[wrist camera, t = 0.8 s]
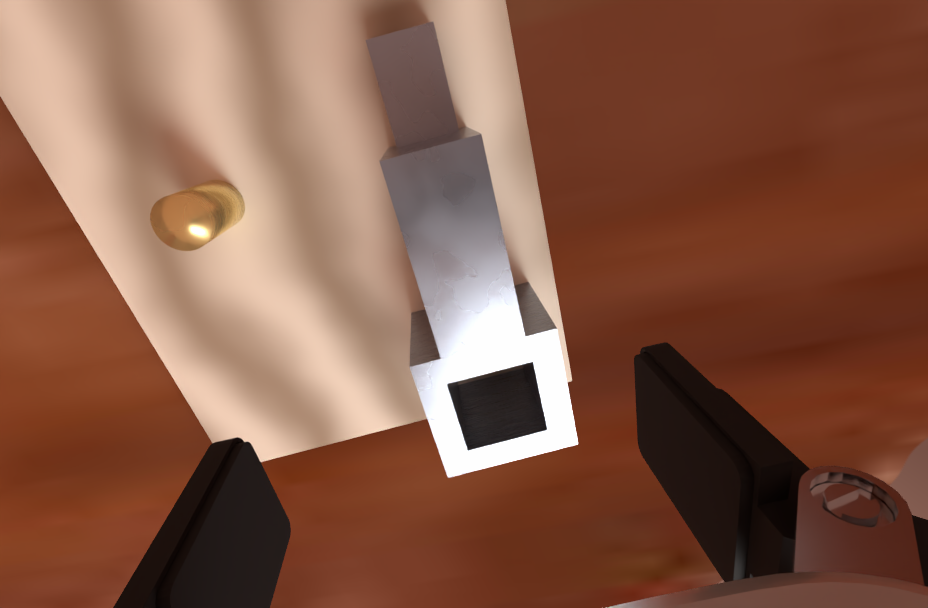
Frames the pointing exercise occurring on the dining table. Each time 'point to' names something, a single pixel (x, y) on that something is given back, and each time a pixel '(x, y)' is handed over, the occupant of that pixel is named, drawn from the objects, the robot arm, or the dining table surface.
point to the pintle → (197, 214)
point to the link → (464, 276)
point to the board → (266, 190)
